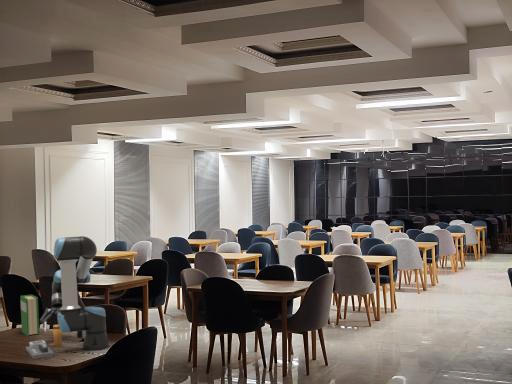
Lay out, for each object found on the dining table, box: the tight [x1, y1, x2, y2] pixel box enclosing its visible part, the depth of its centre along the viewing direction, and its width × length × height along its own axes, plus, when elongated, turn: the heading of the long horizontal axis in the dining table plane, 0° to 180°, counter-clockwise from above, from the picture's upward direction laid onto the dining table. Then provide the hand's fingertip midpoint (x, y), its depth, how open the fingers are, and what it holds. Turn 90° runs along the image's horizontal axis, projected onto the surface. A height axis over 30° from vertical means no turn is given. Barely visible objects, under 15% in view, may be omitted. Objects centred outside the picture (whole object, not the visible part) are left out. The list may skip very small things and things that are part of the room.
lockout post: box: [52, 323, 63, 347], centre depth 393 cm, size 4×4×12 cm
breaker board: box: [25, 339, 55, 360], centre depth 375 cm, size 26×11×6 cm, turn 28°
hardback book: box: [19, 294, 40, 337], centre depth 434 cm, size 18×7×24 cm, turn 31°
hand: (57, 330), depth 396 cm, fingers open, 13 cm apart
